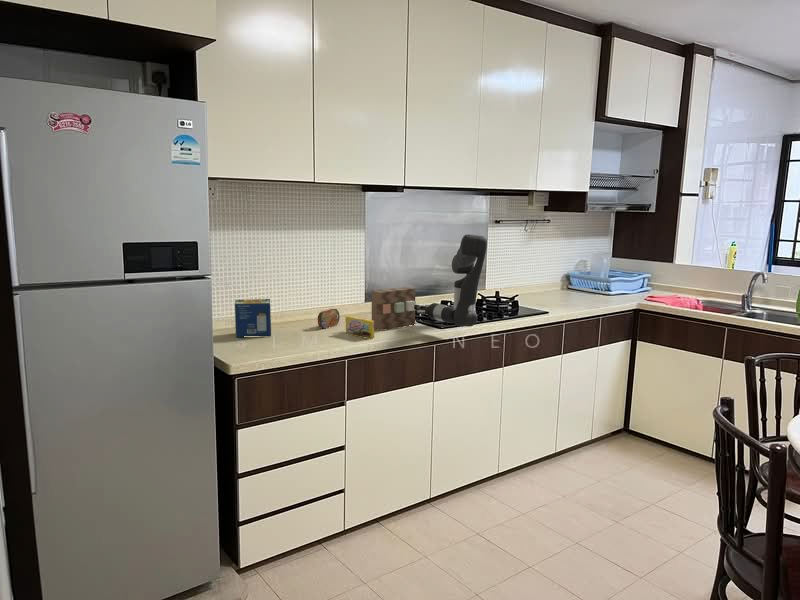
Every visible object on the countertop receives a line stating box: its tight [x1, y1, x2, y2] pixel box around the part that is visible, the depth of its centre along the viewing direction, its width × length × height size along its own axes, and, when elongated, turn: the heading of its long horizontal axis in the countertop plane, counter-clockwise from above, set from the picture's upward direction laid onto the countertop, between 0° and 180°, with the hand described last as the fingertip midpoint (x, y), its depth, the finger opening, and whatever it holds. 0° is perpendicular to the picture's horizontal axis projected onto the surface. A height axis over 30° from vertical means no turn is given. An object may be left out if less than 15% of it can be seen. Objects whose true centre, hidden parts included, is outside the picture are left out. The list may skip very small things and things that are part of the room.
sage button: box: [394, 302, 404, 313], centre depth 279 cm, size 4×3×4 cm
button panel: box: [371, 286, 416, 331], centre depth 283 cm, size 21×7×18 cm, turn 128°
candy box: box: [345, 315, 375, 340], centre depth 263 cm, size 16×2×8 cm, turn 50°
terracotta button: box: [382, 303, 391, 314], centre depth 276 cm, size 4×3×4 cm
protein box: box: [234, 298, 272, 338], centre depth 263 cm, size 10×15×16 cm
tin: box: [317, 308, 341, 330], centre depth 282 cm, size 15×3×8 cm, turn 151°
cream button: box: [406, 300, 417, 311], centre depth 284 cm, size 4×3×4 cm
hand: (415, 306), depth 281 cm, fingers closed
